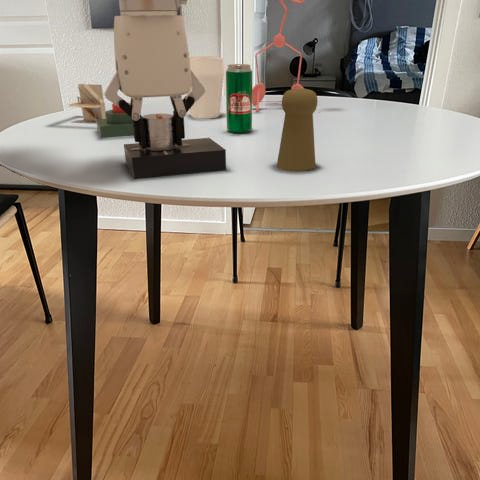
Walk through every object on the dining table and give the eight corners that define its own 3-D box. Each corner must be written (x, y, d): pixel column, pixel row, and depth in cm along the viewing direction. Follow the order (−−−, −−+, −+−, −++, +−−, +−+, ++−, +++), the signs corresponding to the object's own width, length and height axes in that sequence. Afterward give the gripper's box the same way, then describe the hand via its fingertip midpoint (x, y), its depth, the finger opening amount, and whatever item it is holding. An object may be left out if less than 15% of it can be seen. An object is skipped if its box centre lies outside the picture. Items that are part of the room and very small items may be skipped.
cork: (323, 167, 77) (329, 89, 71) (291, 173, 74) (295, 93, 69) (300, 159, 81) (304, 85, 76) (269, 164, 79) (271, 88, 73)
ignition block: (101, 138, 96) (98, 116, 93) (97, 130, 102) (94, 109, 100) (152, 134, 98) (150, 113, 96) (146, 127, 105) (144, 106, 103)
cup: (210, 111, 121) (208, 55, 114) (232, 117, 114) (231, 58, 108) (178, 115, 116) (174, 57, 110) (199, 121, 110) (196, 60, 103)
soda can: (226, 134, 98) (225, 66, 92) (226, 129, 102) (225, 63, 96) (252, 134, 98) (253, 66, 92) (251, 128, 103) (251, 63, 96)
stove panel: (134, 178, 72) (131, 156, 71) (126, 163, 80) (123, 143, 78) (226, 170, 76) (225, 148, 74) (210, 156, 83) (209, 136, 82)
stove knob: (142, 145, 77) (139, 112, 74) (172, 143, 78) (169, 110, 76) (148, 152, 73) (144, 117, 71) (178, 149, 74) (176, 115, 72)
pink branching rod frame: (329, 115, 116) (345, -76, 97) (223, 111, 121) (219, -71, 103) (335, 104, 128) (350, -66, 110) (238, 101, 134) (237, -62, 115)
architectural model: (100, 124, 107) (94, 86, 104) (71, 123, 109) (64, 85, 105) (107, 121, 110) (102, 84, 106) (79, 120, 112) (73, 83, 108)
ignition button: (114, 115, 96) (112, 105, 95) (112, 112, 99) (110, 102, 98) (132, 114, 97) (131, 104, 96) (130, 111, 100) (129, 101, 99)
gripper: (202, 3, 71) (207, 136, 81) (79, 3, 67) (100, 144, 76) (217, 2, 65) (221, 146, 75) (84, 2, 61) (106, 156, 70)
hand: (160, 144), depth 75 cm, fingers closed on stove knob, 4 cm apart
